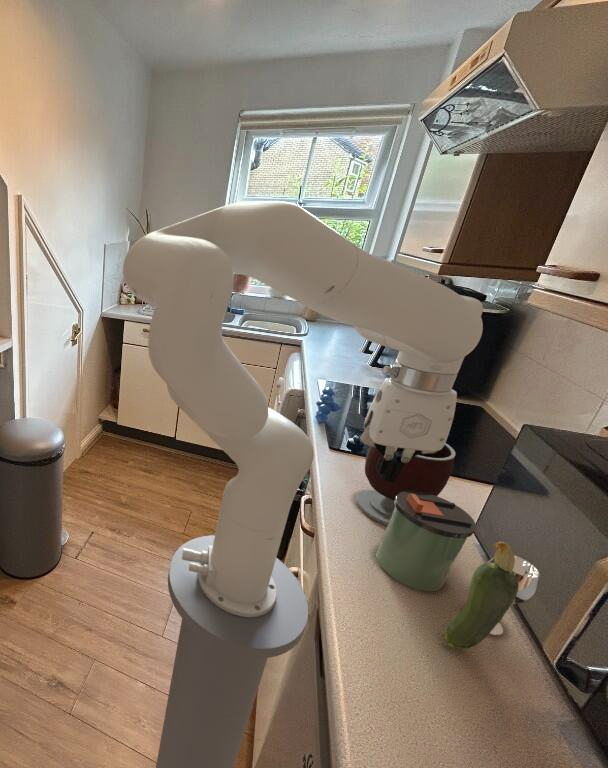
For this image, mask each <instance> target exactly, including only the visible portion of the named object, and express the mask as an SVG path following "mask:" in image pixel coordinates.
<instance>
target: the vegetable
mask: <svg viewBox="0 0 608 768" xmlns="http://www.w3.org/2000/svg"><path fill="white" fill-rule="evenodd" d="M493 551H494V552H495V553H494V555H493V557H494V560H495V563H487V562H484V563H482V564H479V565H478V566H476V568H475V570H474V571H473V573H472V576H471V579H470V583H469V587H468V592H467V600H466V603H465V605H464V607H463V609H461V611H460V612H459V613H458V614H457V615H455V617H454V618H453V620H452V621H451V622H450V623H449V624H448V625H447V627H446V629H445V632H444V637H445V641H446V642H447V646H448V647H449V648H451V649H452V648H454V649H462V650H469V649H471V648H474V647H475V646H478V644H480V643H481V642H483V641H484V640H485V639H486V638H487V637H489V635H491V634H490V632H491V631H492V630H493V629H494V627H495V626H496V625H497V624H498V623H500V622H501V620H502V619H503V617H504V616H505V614H506V613H507V612H508V611H509V609H510V607H511V606H512V605H513V604H512V602H513V601H514V599H515V597H516V595H517V592H518V581H517V579H516V577H515V575H514V573H513V572H512V571H513V568H514V564H515V557H514V555H515V552H514V551H513V547H512V546H511V545H510V544H508V543H507V542H505V541H497V542H495V543H493Z"/></svg>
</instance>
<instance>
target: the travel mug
mask: <svg viewBox="0 0 608 768" xmlns="http://www.w3.org/2000/svg"><path fill="white" fill-rule="evenodd" d="M410 493H411V494H416V496H417V497H418V498H419V500H422V501H428V502H433V503H434V504H435V505H436V506H437V508H438V509H439V510H440V511H441V513H442V514H443V515H444V517H442V516H437V515H431V514H425V513H421V514H419V513H416V512H415V511H414V509H413V508H412V507H411V505H410V504H409V503H408V501H407V498H409V495H410ZM394 504H395V508H394V511H393V513H392V516H391V518H390V521H389V523H388V525H386V527H385V530H384V533H383V535H382V537H381V538H382V539H381V540H380V543H379V545H378V548H377V551H376V553H375V557H376V560H377V561H376V562H377V563H378V564H379V566H380V567H381V568H382V570H384V572H385V573H387V574H388V576H390V577H392V578H393V579H394V580H396V581H397V582H399V583H401V584H403V585H405V586H407V587H410V588H412V589H415V590H419V591H423V592H436V591H439V590H440V589H442V587H443V586H444V585H445V582H446V580H447V578H448V576H449V574H450V573H451V571H452V568H453V566H454V564H455V562H456V561H457V559H458V556H459V555H460V553H461V550H462V548H463V547H464V544H465V543H466V541H467V539H468V538H469V537H471V536H473V534H474V533H475V531H476V529H477V524H476V522H475V520H474V519H473V517H472V516H471V515H470V514H469V513H468V512H467V511H466V510H464V509H463V508H461V507H460V506H458V505H457V504H456V503H455V502H451V501H449V500H447V499H445V498H443V497H440V496H439V495H438V496H435V495H432V494H428V493H424V492H419V491H403V492H400V493H398V494H397V496H396V498H395V501H394Z"/></svg>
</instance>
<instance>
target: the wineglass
mask: <svg viewBox="0 0 608 768" xmlns="http://www.w3.org/2000/svg"><path fill="white" fill-rule="evenodd" d="M514 557H515V564H514V568H513V571H512V572H513V573H514V575H515V577H516V579H517V581H518V592H517V595H516V597H515V599H514V601H513V602H512V604H511V605H513V606H514V605H516V606H518V605H525V604H527V603H529V602H530V601H531V600H532V599H534V597H535V595H536V593H537V591H538V587H539V582H540V575H541V574H540V571H539V569H538V568H537V567H535V565H533V564H532V563H531V562H529V561H528V560H526V559H524V558H522V557H520V556H518V555H515V554H514ZM486 563H495V560H494V556H492V558H490V559H489V560H488V561H487V562H486ZM503 634H504V628H503V626H502V625H501V623H500V622H499V623H498V624H497V625H496V626H495V627H494V629H493V630H492V631H491V632H490V634H489V635H493V636H501V635H503Z"/></svg>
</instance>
